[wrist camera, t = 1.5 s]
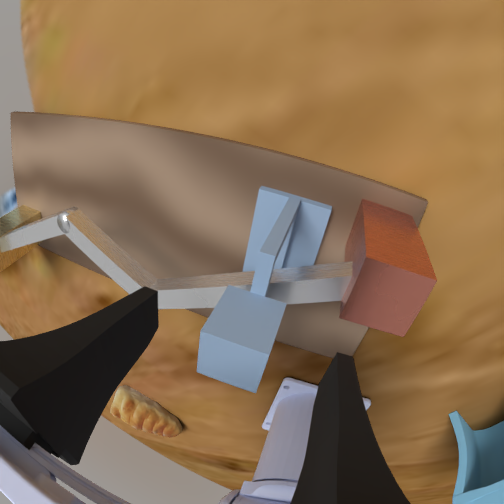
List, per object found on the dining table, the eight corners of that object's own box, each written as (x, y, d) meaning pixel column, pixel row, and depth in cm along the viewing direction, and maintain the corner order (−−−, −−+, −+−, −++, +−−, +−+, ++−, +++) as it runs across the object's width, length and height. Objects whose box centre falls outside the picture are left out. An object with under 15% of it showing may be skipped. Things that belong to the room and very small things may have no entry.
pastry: (188, 414, 34) (175, 439, 31) (181, 432, 38) (170, 454, 35) (120, 378, 35) (104, 400, 32) (121, 400, 39) (108, 420, 35)
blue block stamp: (332, 204, 17) (310, 321, 9) (303, 293, 20) (265, 421, 12) (262, 183, 18) (181, 278, 10) (243, 273, 21) (177, 389, 13)
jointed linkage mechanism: (397, 287, 18) (406, 366, 13) (29, 238, 27) (-16, 270, 21) (414, 203, 16) (441, 263, 10) (15, 187, 24) (-35, 215, 19)
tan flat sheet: (348, 357, 23) (348, 362, 22) (26, 235, 27) (23, 237, 27) (426, 199, 16) (428, 202, 15) (14, 111, 21) (10, 112, 20)
